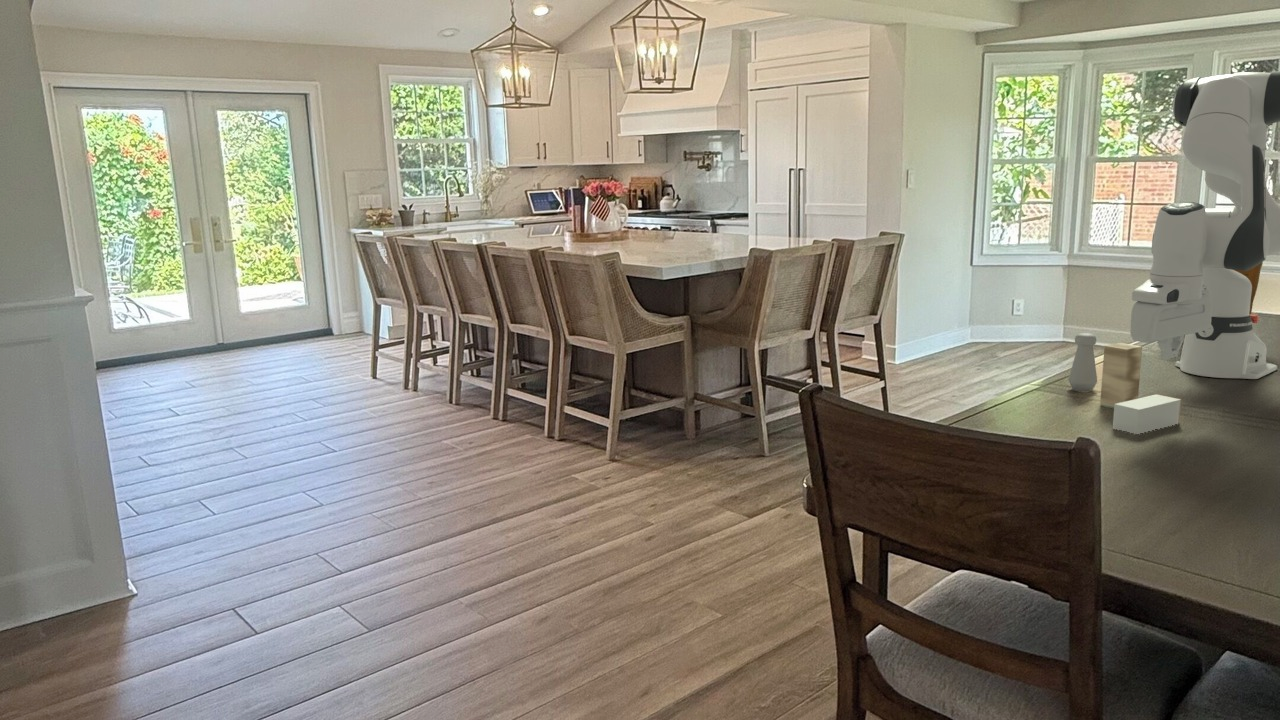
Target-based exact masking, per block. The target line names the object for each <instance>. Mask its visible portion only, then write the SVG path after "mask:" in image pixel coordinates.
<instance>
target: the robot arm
mask: <svg viewBox="0 0 1280 720" xmlns="http://www.w3.org/2000/svg"><path fill="white" fill-rule="evenodd" d="M1172 112H1173V116H1174V120H1175V122H1176V123H1178V124H1179V125H1180V126H1182V127H1185V129H1184V133H1183V139H1182V151H1183V153H1184V156H1185V157H1186V159H1187V160H1188V161H1189V162H1190V163H1191V164H1192V165H1193V166H1195V167H1196V168H1198V169H1199V170H1202V171H1204V173H1205V174H1204V180H1205V184H1206V186H1207V187H1208V188H1209V190H1211V191H1213V192H1214V193H1215V194H1218V195H1220V196H1222V197H1225V198H1227V199H1228V200H1230V201H1231V202H1232V204H1233V205H1234V207H1231V208H1230V207H1224V208H1223V207H1222V208H1221V207H1219V208H1218V207H1216V208H1215V207H1214V208H1213V207H1212V208H1211V207H1209V208H1207V207H1206V206H1204V205H1203V204H1202V203H1198V202H1193V201H1182V202H1181V201H1180V202H1179V201H1177V202H1173V203H1167V204H1165V205H1163V206H1162V207H1160V208H1159V211H1158V213H1157V217H1156V220H1155V226H1154V230H1153V233H1152V238H1151V239H1152V241H1151V253H1152V257H1153V258H1152V259H1153V260H1152V266H1151V268H1150V271H1149V278H1148V279H1147V280H1145V282H1143V283H1142V284H1141V285H1139V286H1138V287H1136V288H1135V289H1133V290H1132V292H1131V300H1132V301H1134V302H1135V303H1134V304H1133V306H1132V309H1131V315H1130V327H1129V329H1130V332H1129V333H1130V336H1131V337H1130V338H1131V339H1132V341H1135V342H1138V343H1143V344H1144V343H1145V344H1150V343H1155V342H1157V345H1158V347H1159V349H1160V359H1161V360H1164V361H1169V360H1174V359H1177V358H1179V356H1180V355H1179V353H1180V349H1181V347H1182V349H1181V350H1182V351H1181V356H1180V360H1177V361H1176V362H1175V367H1177V368H1180V369H1179V370H1181V372H1184V373H1187V374H1191V375H1196V376H1200V377H1207V378H1208V377H1210V378H1217V379H1218V378H1219V379H1248V380H1257V379H1260V378H1262V377H1265V376H1266V375H1269V374H1270V373H1272V372H1275V371H1277V370H1278V365H1276V364H1273V363H1270V362H1267V350H1268V349H1267V345H1266V343H1264V342H1263V341H1262V340H1261V339H1260V338H1259V337H1258V336H1257V335H1256V333H1254V331H1253V328H1254V327H1253V324H1258V323H1259V320H1260V316H1259V315H1258V314H1252V313H1251V314H1249V311H1250V302H1251V293H1252V284H1251V282H1250V280H1249V279H1248V278H1247V277H1246V276H1244V275H1243V274H1241V273H1239V272H1237V271H1235V270H1241V271H1248V270H1250V269H1252V268H1254V267H1255V266H1257V265H1259V264H1260V263H1262V262H1263V263H1264V261H1265V260H1267V259H1266V258H1267V256H1273V255H1278V254H1280V204H1279V203H1277V201H1276V200H1275V199H1274V198H1273V196H1272V195H1271V194H1270V192H1269V190H1268V187H1267V183H1266V171H1265V170H1266V168H1265V165H1266V160H1265V159H1266V149H1267V148H1266V147H1267V126H1268V127H1270V126H1272V125H1273V124H1275V123H1278V122H1280V71H1277V70H1276V71H1274V70H1272V71H1271V72H1261V71H1258V72H1257V71H1243V72H1235V73H1230V74H1229V73H1228V74H1220V75H1212V76H1208V77H1201V76H1199V77H1198V76H1197V77H1194V78H1191V79H1187V80H1185V81H1184V82H1183V83H1181V85H1179V87H1178V88H1177V89H1176V91H1175V95H1174V97H1173V99H1172ZM1184 335H1185V339H1184ZM1183 341H1184V344H1182V343H1183Z"/></svg>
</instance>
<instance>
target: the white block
mask: <svg viewBox="0 0 1280 720" xmlns="http://www.w3.org/2000/svg"><path fill="white" fill-rule="evenodd" d="M1181 405H1182V399H1181V398H1176V397H1171V396H1167V395H1162V394H1157V393H1156V394H1152V395H1147V396H1143V397H1140V398H1139V397H1138V399H1134V400H1130V401H1126V402H1121V403H1117V404H1114V409H1113V419H1112V429H1113V430H1116V429H1117V431H1119V430H1122V431H1121V432H1123V431H1127V432H1130V433H1129V434H1131V433H1134V434H1133V435H1135V434H1139V435H1141V434H1140V433H1143V434H1145V433H1144V432H1146V433H1149V432H1148V431H1150V432H1153V431H1152V430H1154V431H1156V430H1155V429H1158V430H1161V429H1160V428H1162V429H1165V428H1164V427H1166V428H1169V427H1173V426H1176V425H1175V424H1177V425H1179V424H1180V420H1181V419H1180V418H1181ZM1178 423H1179V424H1178ZM1172 425H1173V426H1172ZM1168 426H1169V427H1168ZM1127 432H1126V433H1127Z"/></svg>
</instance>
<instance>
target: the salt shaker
mask: <svg viewBox="0 0 1280 720" xmlns="http://www.w3.org/2000/svg"><path fill="white" fill-rule="evenodd" d="M1074 343H1075V344H1076V345H1077V347H1076V351H1075V355H1074V358H1073V361H1072V365H1071V368H1070V369H1071V370H1070V372H1069V376H1068V382H1069V384H1070V386H1071V389H1072V391H1074V392H1079V393H1089V392H1092V391H1094V389H1095V387H1096V385H1097V383H1098V375H1097V368H1096V367H1097V366H1096V358H1095V352H1094V345H1096V344H1097V335H1096V334H1094V333H1089V332H1081V333H1077V334H1076V335H1075V336H1074Z"/></svg>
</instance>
